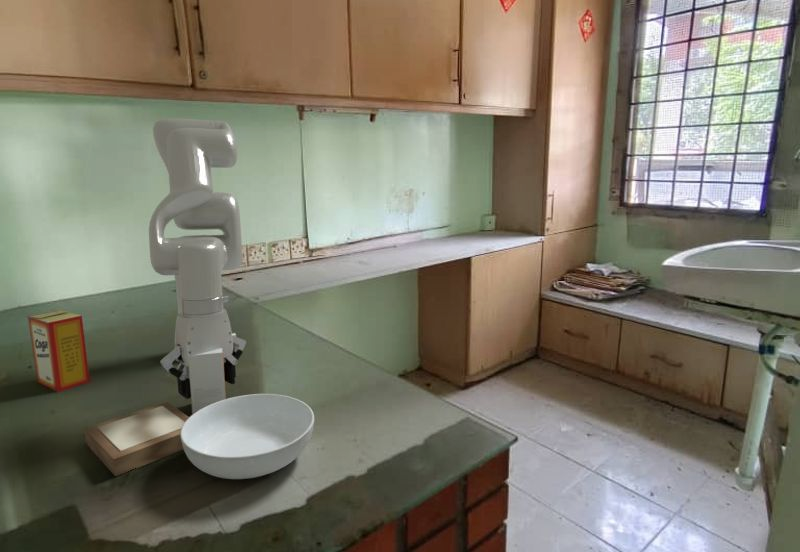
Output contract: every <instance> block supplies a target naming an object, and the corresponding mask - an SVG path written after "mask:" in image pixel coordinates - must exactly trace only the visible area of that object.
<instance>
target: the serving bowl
mask: <svg viewBox="0 0 800 552" xmlns="http://www.w3.org/2000/svg"><path fill="white" fill-rule="evenodd" d="M188 417H189V418H188V419H187V421H186V422H185V423H184V425H183V426H182V428H181V433H180V437H181V442H182V446H183V451H184V453H185V455H186V457H187V459H188V460H189V461H190V462H191V464H192V465H193V466H195V467H196V468H197V469H199V470H200V471H202V472H204V473H206V474H208V475H210V476H213V477H216V478H220V479H229V480H244V479H254V478H258V477H262V476H266V475H269V474H271V473H275V472H276V471H279V470H280V469H282V468H285V467H286V466H288V465H289V464H290V463H292V462H293V461H295V460H296V459H297V458H298V457H299V456H301V454H302V453H303V451H304V450H305V449H306V447H307V446H308V444H309V442H310V440H311V438H312V435H313V432H314V426H315V414H314V412H313V410H312V408H311V406H310V405H308V404H307V403H305V402H304V401H302V400H301V399H298V398H294V397H292V396H288V395H283V394H275V393H253V394H245V395H239V396H234V397H229V398H226V399H225V400H222V401H219V402H216V403H213V404H211V405H208V406H206V407H204V408H202V409H201V410H199V411H197V412H196V413H194V414H193V415H192V414H191V415H190V416H188Z"/></svg>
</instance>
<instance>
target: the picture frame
mask: <svg viewBox="0 0 800 552" xmlns="http://www.w3.org/2000/svg"><path fill="white" fill-rule="evenodd" d="M189 417H190V416H188V415H187V414H185V413H184V412H182V411H181V410H179V409H178V408H177V407H176V406H174V405H172V403H170V402H168V401H165V402H163V403H160V404H156V405H153V406H150V407H147V408H146V407H145V408H144V409H141V410H137V411H134V412H131V413H128V414H125V415H122V416H119V417H116V418H113V419H110V420H106V421H103V422H100V423H98V424H95V425H91V426H88V427H85V428H84V434H85V441H86V445H87V447H89V449H90V450H91V451H92V452H93V453H94V454H95V455H96V456H97V458H98V457H99V460H100V461H101V462H102V463H103V465H104V466H105V467H106V468H107V469H108V470H109V471H110V472H111V473H112V474H113V476H114V477H115V476H117V477H119V476H121V475H120V474H122V475H124V474H126V472H127V473H128V471H129V472H131V471H130V470H132V469H134V470H136V469H138V468H141V467H143V466H144V467H145V466H146V465H148V464H151V463H153V462H155V461H158V460H160V459H163V458H166V457H169V456H171V455H173V454H176V453H178V452H180V451H184V449H183V446H182V442H181V437H180V433H181V428H182V426H183V425H184V423H185V422H186V421H187V419H188V418H189ZM135 468H136V469H135ZM132 471H133V470H132ZM123 473H124V474H123ZM118 475H119V476H118Z"/></svg>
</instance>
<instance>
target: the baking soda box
mask: <svg viewBox="0 0 800 552" xmlns="http://www.w3.org/2000/svg"><path fill="white" fill-rule="evenodd" d="M27 318H28V326H29V333H30V340H31V347H32V354H33V361H34V368H35V375H36V382H37V383H38V384H40V385H42V386H44V387H46V388H49V389H51V390H53V391H55V392H57V393H58V392H59V393H60V392H63V391H65V390H68V389H72V388H75V387H78V386H80V385H83V384H87V383H90V381H91V380H90V373H89V364H88V357H87V356H88V355H87V354H88V353H87V348H86V339H85V338H86V337H85V332H84V331H85V330H84V324H83V323H84V322H83V316H82V315H81V314H78V313H77V314H76V313H72V312H69V311H68V310H63V309H59V310H53V311H49V312H48V311H47V312H42V313H38V314H33V315H28V316H27Z"/></svg>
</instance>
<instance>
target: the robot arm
mask: <svg viewBox="0 0 800 552" xmlns="http://www.w3.org/2000/svg"><path fill="white" fill-rule="evenodd" d="M152 131H153V132H152V133H153V134H152V135H153V139H154V142H155V146H156V149H157V150H158V152H159V156H160V158H161V159H162V162H163V163H164V165H165V167H166V170H167V174H168V185H169V193H168V195H166V196H165V197H164V198H163V199H162V200H161V201H160V203H159V204H158V205H157V206H156V207H155V209H154V211H153V212H152V215H151V217H150V220H149V225H148V226H149V227H148V241H149V242H148V243H149V257H150V259H149V260H150V263H151V267H152V269H153V270H154V272H155V273H157V274H158V275H160V276H174V281H175V290H176V301H177V313H178V314H177V316H176V322H175V328H174V329H175V331H174V349H173V350H171V351H170V352H169V353H168V354H167V355H165V356H164V357H163V358H161V360H160V362H159V363H160V365H161V366H162V367H163V368H164V369H165V370H166V372H168V373H169V374H171V375H172V376H173V377H174V376H175V377H176V380H177V391H178V394H179V395H181V396H182V397H184V398H185V399H186V400H189V399H191V389H190V378H188V376H189V357H190V356H192V355H196V354H200V353H204V352H208V351H212V350H216V349H221V348H223V360H225V361H224V378H225V382H226V383H229V384H230V385H235V384H236V377H237V374H236V366H237V364H238V360H239V359H240V358H241V356H242V354H243V350H244V349H245V346H246V344H247V340H245V339H242V338H240V337H237V334H236V333H235V332H232V326H231V321H230V318H229V315H228V314H229V313H228V312H227V309H226V308H224V307H225V303H228V302H229V300H230V299H229V296H228V294H227V295H224V293H223V285H222V283H223V282H222V271H234V270H237V269H239V268H240V267H241V266H242V264H243V243H242V242H243V241H242V227H241V215H240V207H239V204H238V201H237V199H236V197H235V196H234V195H233V194H232V193H229V192H214V189H213V188H214V186H213V181H212V169H211V168H215V169H216V168H217V169H218V168H222V169H223V168H226V169H229V168H233V167H234V166H235V165H236V164H237V160H238V145H237V140H236V137H235V135H234V132H233V130H232V129H231V127H230V125H229V124H228V122H226V121H223V120H215V119H214V120H213V119H211V120H210V119H195V118H194V119H193V118H184V117H183V118H182V117H181V118H180V117H169V118H168V117H167V118H161V119H158V120H157V121H155V122H154V123H153V127H152ZM172 220H173V221H174V225H175V226H176V227H177V228H179V229H181V230H185V231H186V230H187V231H204V230H205V231H206V230H220V231H222V234H195V235H182V236H179V237H166V238H165V228H166V227H167V225H168V224H169V223H170V222H171V221H172ZM234 344H235V348H234ZM174 361H176V362H177V363H179V364H178V366H177V367H175V366H174V365H173V362H174Z"/></svg>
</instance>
